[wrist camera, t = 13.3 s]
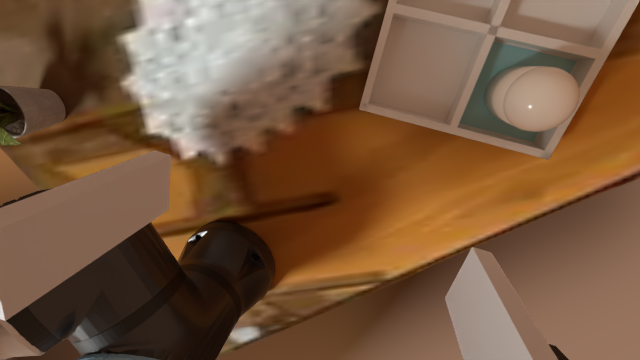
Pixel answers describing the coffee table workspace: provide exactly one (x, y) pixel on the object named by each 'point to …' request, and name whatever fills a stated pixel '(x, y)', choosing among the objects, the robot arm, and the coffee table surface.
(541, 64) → the divided tray
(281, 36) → the coffee table surface
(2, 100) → the house plant
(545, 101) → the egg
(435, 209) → the coffee table surface
